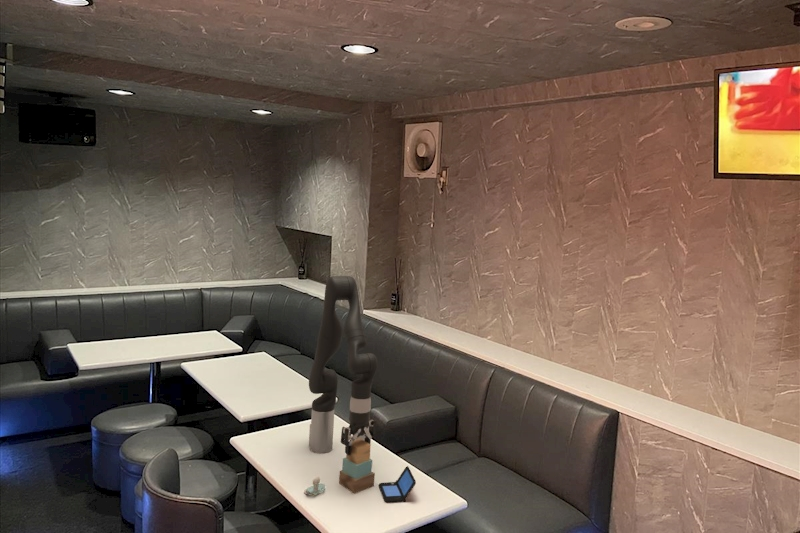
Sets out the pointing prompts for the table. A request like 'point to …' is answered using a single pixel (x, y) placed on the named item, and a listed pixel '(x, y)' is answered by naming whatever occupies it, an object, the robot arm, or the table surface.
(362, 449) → the oak cube
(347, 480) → the bottom block
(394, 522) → the table surface
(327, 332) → the robot arm
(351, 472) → the top block
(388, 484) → the handheld game console
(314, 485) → the pacifier
